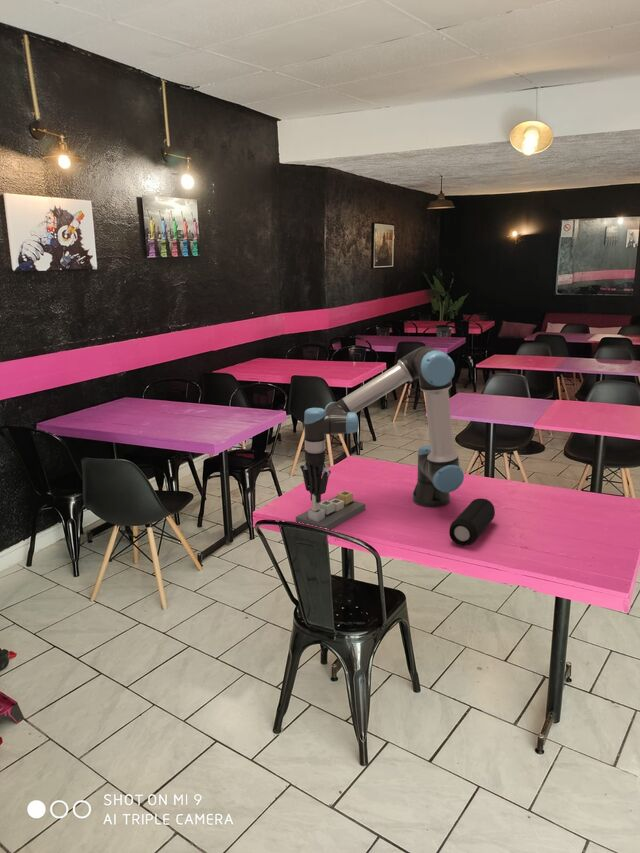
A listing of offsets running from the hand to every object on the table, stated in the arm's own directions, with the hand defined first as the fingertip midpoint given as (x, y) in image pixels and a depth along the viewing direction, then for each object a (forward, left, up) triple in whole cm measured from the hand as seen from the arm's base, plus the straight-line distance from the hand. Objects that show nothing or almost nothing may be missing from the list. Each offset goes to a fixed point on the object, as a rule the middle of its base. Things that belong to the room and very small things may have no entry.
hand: (315, 509), depth 235 cm
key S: (0, -18, -3) cm, 18 cm away
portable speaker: (-50, -28, -6) cm, 58 cm away
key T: (0, -12, -4) cm, 13 cm away
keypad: (0, -9, -6) cm, 11 cm away
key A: (0, -6, -3) cm, 7 cm away
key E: (0, 0, -4) cm, 4 cm away
